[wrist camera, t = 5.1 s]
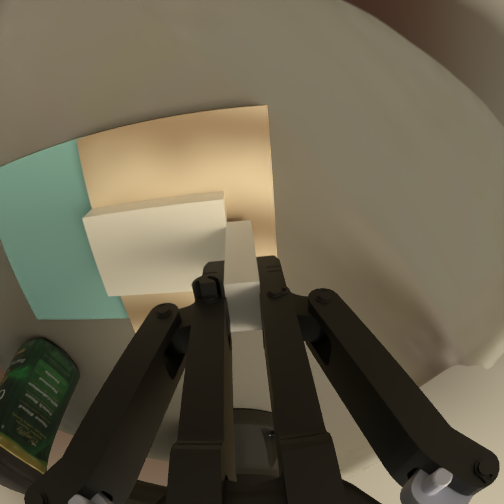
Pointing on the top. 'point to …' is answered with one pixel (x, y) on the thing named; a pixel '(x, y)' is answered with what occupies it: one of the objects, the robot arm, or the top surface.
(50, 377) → the coffee jar
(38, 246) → the mat
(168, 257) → the card
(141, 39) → the top surface
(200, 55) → the top surface
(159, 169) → the tan flat block
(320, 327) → the robot arm
